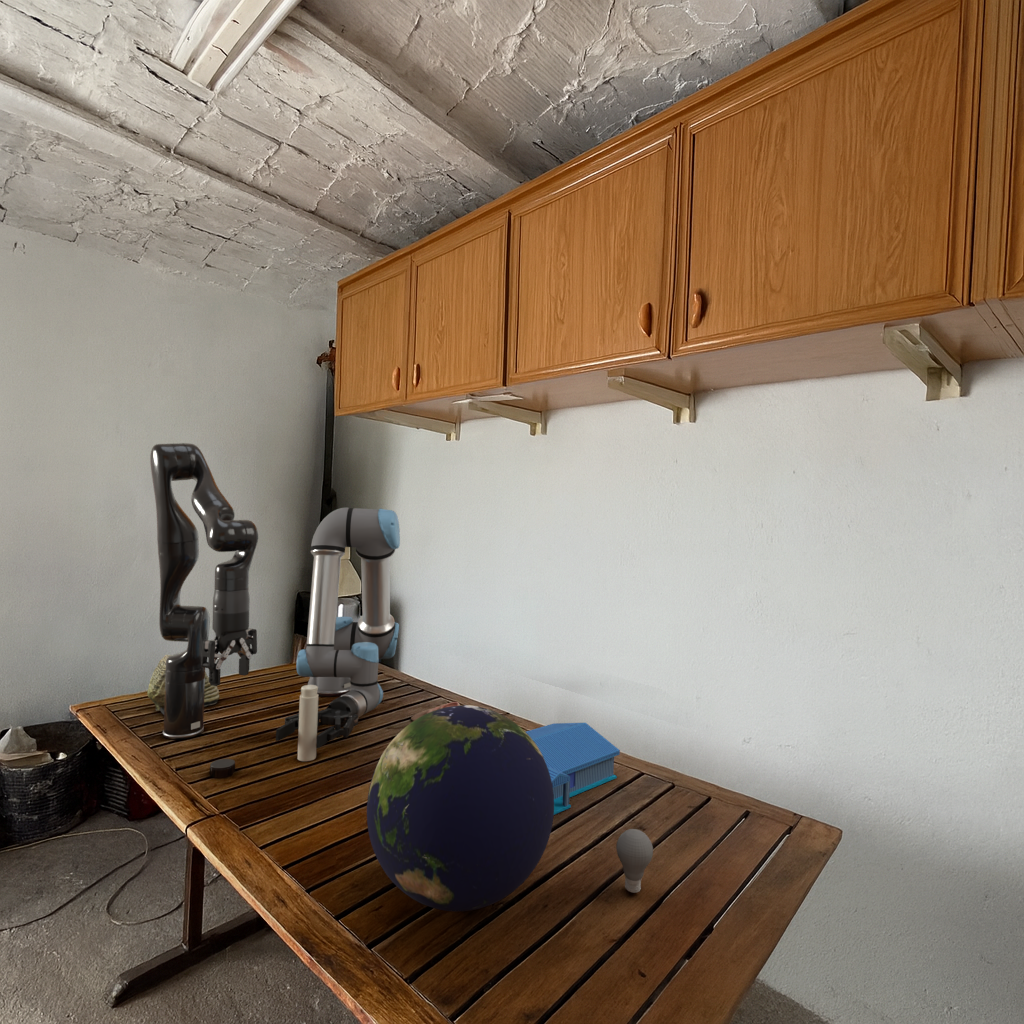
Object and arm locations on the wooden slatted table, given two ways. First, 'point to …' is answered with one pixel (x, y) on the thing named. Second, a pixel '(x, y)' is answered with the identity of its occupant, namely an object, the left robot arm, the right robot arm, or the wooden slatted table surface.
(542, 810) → the globe
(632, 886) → the light bulb
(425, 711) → the anatomical model
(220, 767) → the lid
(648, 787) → the wooden slatted table surface
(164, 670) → the fossil
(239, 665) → the left robot arm
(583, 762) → the model building
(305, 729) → the cream bottle
